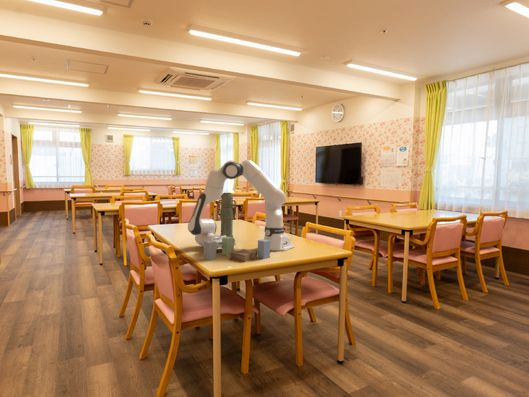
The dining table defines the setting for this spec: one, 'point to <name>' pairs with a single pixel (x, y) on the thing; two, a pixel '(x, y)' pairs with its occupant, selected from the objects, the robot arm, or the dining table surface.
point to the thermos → (227, 214)
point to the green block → (227, 245)
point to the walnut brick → (243, 255)
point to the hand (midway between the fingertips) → (228, 245)
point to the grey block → (210, 250)
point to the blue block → (263, 249)
